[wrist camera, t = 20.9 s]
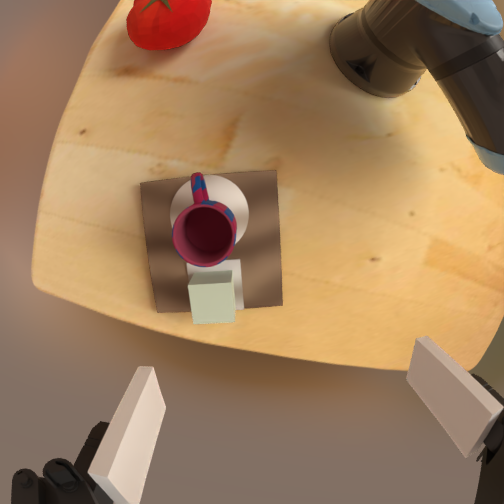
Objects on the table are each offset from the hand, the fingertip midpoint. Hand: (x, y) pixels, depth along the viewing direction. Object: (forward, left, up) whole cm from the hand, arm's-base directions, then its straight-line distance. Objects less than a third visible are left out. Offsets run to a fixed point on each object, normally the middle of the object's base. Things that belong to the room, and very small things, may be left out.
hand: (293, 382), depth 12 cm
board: (-2, -6, -27) cm, 27 cm away
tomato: (-35, -10, -27) cm, 45 cm away
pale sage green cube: (+4, -6, -25) cm, 26 cm away
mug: (-6, -6, -25) cm, 26 cm away
